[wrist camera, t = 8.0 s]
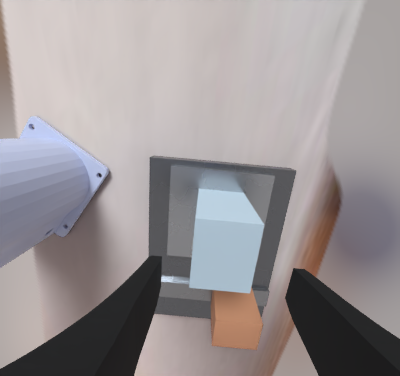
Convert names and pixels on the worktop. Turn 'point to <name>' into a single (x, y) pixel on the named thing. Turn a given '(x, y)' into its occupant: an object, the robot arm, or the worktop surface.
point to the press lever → (235, 320)
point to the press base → (185, 222)
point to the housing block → (225, 242)
